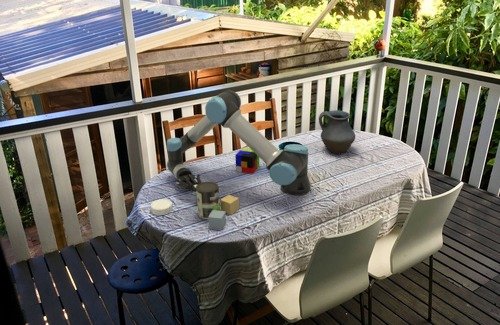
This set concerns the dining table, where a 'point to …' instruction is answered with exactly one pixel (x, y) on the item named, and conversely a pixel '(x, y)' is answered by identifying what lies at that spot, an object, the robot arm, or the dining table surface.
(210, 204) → the coffee can
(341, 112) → the pitcher
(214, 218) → the slate block
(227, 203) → the ochre block
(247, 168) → the puzzle toy
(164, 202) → the cream disc
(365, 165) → the dining table surface
